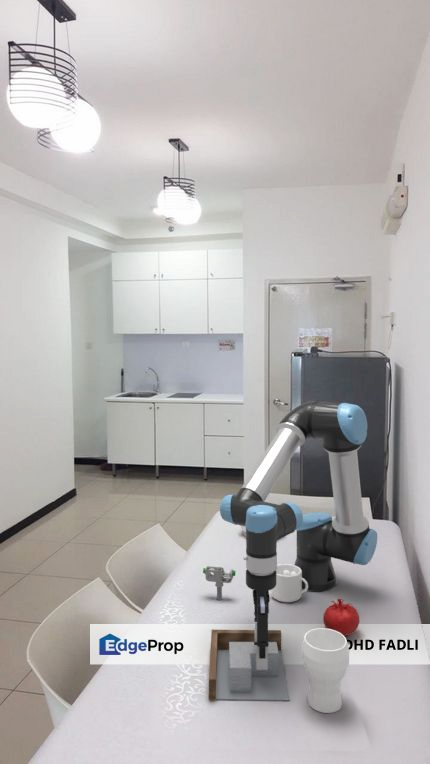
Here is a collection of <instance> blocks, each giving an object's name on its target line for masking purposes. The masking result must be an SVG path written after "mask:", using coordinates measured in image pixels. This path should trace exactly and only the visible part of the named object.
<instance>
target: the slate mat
mask: <svg viewBox="0 0 430 764" xmlns="http://www.w3.org/2000/svg"><path fill="white" fill-rule="evenodd" d="M282 651H283V650H282V649H281V650H278V653H279V669H278V677H251V692H230V676H229V650H217V678H216V700H215V701H237V702H238V701H242V702H243V701H246V702H247V701H250V702H251V701H252V702H263V701H264V702H291V701H290V694H289V687H288V682H287V676H286V669H285V662H284V658H283V652H282Z"/></svg>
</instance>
